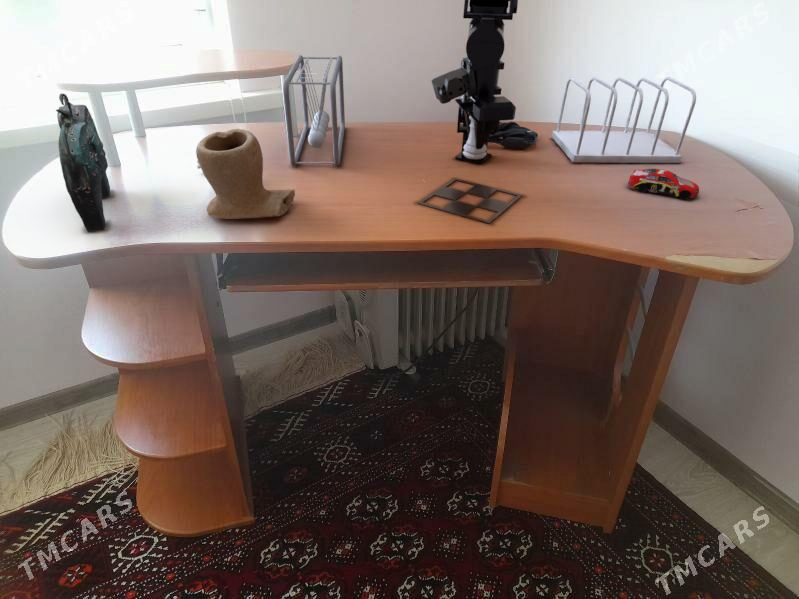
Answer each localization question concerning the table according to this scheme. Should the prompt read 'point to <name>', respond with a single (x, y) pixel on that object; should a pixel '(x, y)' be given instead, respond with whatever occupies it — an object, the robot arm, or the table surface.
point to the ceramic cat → (83, 163)
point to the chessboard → (465, 208)
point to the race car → (663, 183)
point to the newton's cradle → (321, 117)
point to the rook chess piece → (473, 145)
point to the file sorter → (620, 143)
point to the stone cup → (238, 177)
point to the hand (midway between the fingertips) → (475, 144)
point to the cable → (513, 136)
